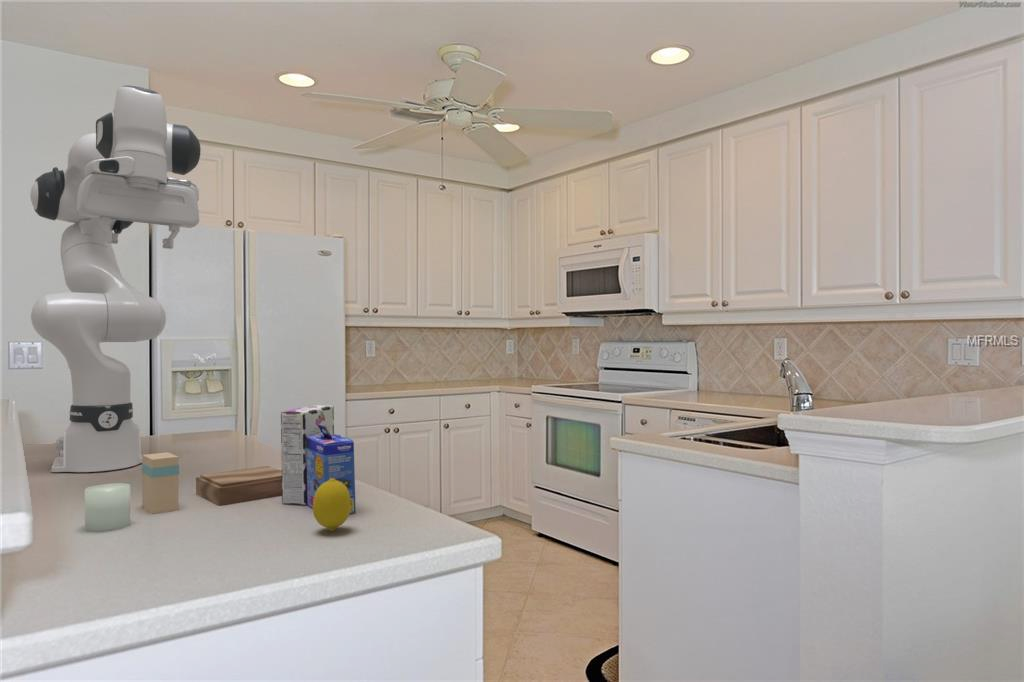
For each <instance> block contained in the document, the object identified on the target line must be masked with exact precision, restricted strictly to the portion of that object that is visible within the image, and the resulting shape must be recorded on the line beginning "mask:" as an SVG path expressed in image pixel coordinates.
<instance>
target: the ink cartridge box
mask: <svg viewBox="0 0 1024 682" xmlns="http://www.w3.org/2000/svg"><path fill="white" fill-rule="evenodd" d="M317 425H318V427H319V429H320V430H321V432H322V433H323V435H312V436H306V450H307V506H308V507H310V508H311V509H313V500H314V496H315V493H316V491H317V489H318V488H319V486H320V485H321V484H323V483H324V482H326V481H328V480H329V479H330V478H334V479H335V480H336V481H339V482H341V483H343V484H344V485H345V486H346V487H347V489H348V491H349V494H350V499H351V509H350V514H354V513H356V510H357V505H356V503H357V501H356V474H355V473H356V469H355V467H356V466H355V442H354V440H352V439H351V438H349V437H343V436H341V435H339V434H335V433H334V434H330V433H329V431H328V430H327V428H326V427H325V426H322V425H319V424H317ZM323 429H324V430H325V431H326V432H324V431H323Z"/></svg>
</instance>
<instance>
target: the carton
mask: <svg viewBox="0 0 1024 682" xmlns="http://www.w3.org/2000/svg"><path fill="white" fill-rule="evenodd" d="M141 456H142V463H141V474H142V477H141V478H142V480H141V483H142V484H141V485H142V487H141V488H142V490H141V491H142V493H141V494H142V497H141V498H142V499H141V500H142V502H141V503H142V505H141V507H142V509H143V510H146V511H147V512H149V513H150V514H151V515H155V514H162V513H167V512H173V511H179V475H180V464H179V460H180V459H179V456H178V455H176V454H173V453H171V452H168V451H167V452H158V453H156V452H155V453H150V454H149V453H148V454H141Z"/></svg>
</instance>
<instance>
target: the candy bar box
mask: <svg viewBox="0 0 1024 682" xmlns="http://www.w3.org/2000/svg"><path fill="white" fill-rule="evenodd" d="M334 414H335V412H334V405H325V404H324V405H323V404H314V405H308V406H302V407H299V408H294V409H291V410H285V411H281V412H280V435H281V436H280V439H281V441H280V444H281V445H280V447H281V448H280V449H281V450H280V451H281V471H282V495H281V504H283V505H292V506H296V505H297V506H308V504H307V450H306V436H312V435H323V433H322V432H321V430H320V429H319V427H318V425H317V424H319V425H322V426H325V427H326V428H327V430H328V431H329V433H330V434H335V421H334V420H335V418H334ZM323 431H324V432H326V431H325V430H324V429H323Z"/></svg>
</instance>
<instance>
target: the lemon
mask: <svg viewBox="0 0 1024 682" xmlns="http://www.w3.org/2000/svg"><path fill="white" fill-rule="evenodd" d="M350 509H351V499H350V494H349V491H348V489H347V487H346V486H345V485H344V484H343V483H341V482H339V481H336V480H335V479H334V478H330V479H329V480H328V481H326V482H324V483H323V484H321V485H320V486H319V488H318V489H317V491H316V493H315V496H314V500H313V508H312V513H313V516H314V518H315V520H316V522H317V523H318V524H319V525H320V526H322V527H324V528H326V529H327V530H328V531H329V532H334V531H336V529H337V528H338V527H340V526H341V525H343V524H344V523H345V522H346V521H347V519H348V518H349V516H350V514H351V513H350Z"/></svg>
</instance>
